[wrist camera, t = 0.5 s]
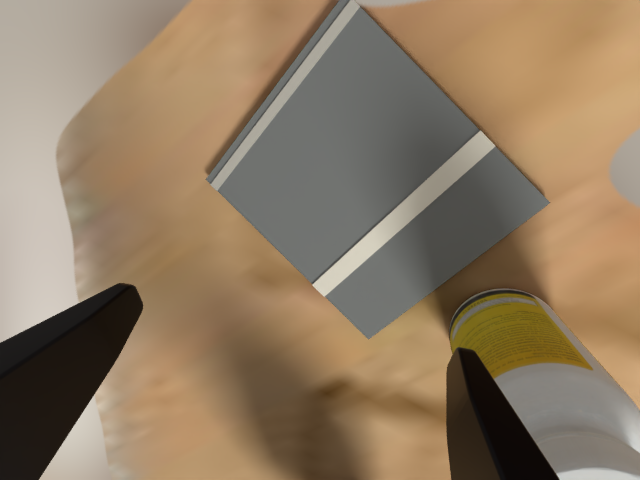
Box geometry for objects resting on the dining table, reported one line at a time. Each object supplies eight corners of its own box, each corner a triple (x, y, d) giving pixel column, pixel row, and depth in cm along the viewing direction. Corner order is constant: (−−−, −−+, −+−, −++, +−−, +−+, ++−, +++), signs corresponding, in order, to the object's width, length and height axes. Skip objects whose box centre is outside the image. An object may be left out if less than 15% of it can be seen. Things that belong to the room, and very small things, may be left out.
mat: (546, 201, 19) (550, 203, 18) (369, 335, 24) (368, 340, 23) (347, -5, 18) (345, -10, 18) (209, 178, 23) (204, 179, 23)
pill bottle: (427, 314, 22) (450, 478, 12) (520, 265, 20) (656, 412, 9) (482, 386, 23) (552, 606, 12) (579, 346, 21) (771, 574, 10)
